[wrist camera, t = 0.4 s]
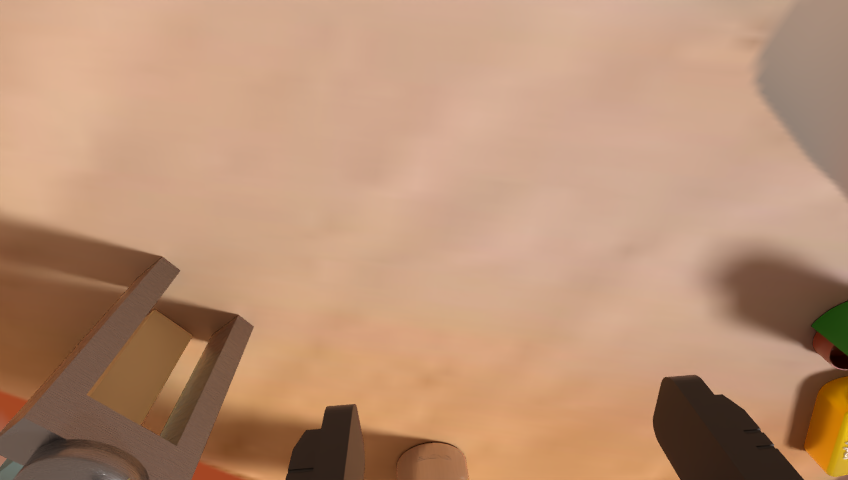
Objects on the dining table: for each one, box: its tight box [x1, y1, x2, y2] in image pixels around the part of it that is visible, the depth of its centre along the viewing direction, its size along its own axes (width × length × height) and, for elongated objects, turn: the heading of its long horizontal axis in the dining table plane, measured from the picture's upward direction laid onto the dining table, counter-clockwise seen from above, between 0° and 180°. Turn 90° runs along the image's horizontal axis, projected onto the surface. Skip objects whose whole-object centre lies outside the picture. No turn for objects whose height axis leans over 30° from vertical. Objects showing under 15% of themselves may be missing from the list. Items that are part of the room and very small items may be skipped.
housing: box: [0, 257, 253, 480], centre depth 36 cm, size 7×11×20 cm, turn 38°
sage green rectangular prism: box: [0, 309, 193, 480], centre depth 42 cm, size 13×4×12 cm, turn 128°
